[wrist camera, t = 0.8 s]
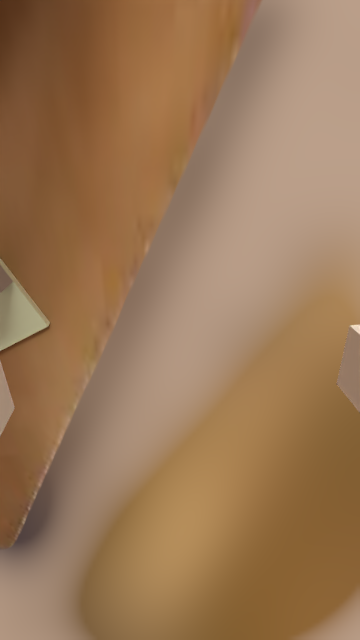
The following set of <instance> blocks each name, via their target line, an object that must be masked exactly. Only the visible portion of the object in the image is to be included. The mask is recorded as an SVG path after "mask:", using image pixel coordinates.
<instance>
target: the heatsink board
mask: <svg viewBox="0 0 360 640" xmlns="http://www.w3.org/2000/svg"><path fill="white" fill-rule="evenodd" d="M49 324H50V322H49V321H48V319H47V318H46V317H45V315H44V314H43V313H42V311H41V310H40V309H39V308H38V306H37V305H36V304H35V302H34V301H33V300H32V298H31V297H30V296H29V295H28V293H27V292H26V291H25V289H24V288H23V287H22V285H21V284H20V283H19V282H18V280H17V279H16V278H15V276H14V275H13V274H12V272H11V271H10V270H9V269H8V267H7V266H6V265H5V263H4V262H3V261H2V259H1V258H0V351H1V350H3V349H5V348H7V347H9V346H11V345H13V344H15V343H17V342H19V341H21V340H23V339H24V338H26V337H28V336H30V335H32V334H34V333H36V332H38V331H40V330H42V329H44V328H46V327H48V326H49Z"/></svg>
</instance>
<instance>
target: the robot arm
mask: <svg viewBox="0 0 360 640" xmlns="http://www.w3.org/2000/svg"><path fill="white" fill-rule="evenodd" d="M337 385H338V386H339V387H340V389H341V390H342V391H343V392H344V394H345V395H346V396H347V397H348V398H349V400H350V401H351V402H352V404H353V405H354V406H355V407H356V409H357V410H358V411H359V412H360V325H351V326H349V331H348V335H347V340H346V344H345V348H344V353H343V358H342V362H341V367H340V371H339V376H338V380H337ZM14 408H15V407H14V404H13V401H12V397H11V394H10V391H9V388H8V384H7V381H6V378H5V374H4V371H3V368H2V365H1V361H0V436H1V434H2V432H3V430H4V428H5V426H6V424H7V422H8V420H9V418H10V416H11V414H12V412H13V410H14Z"/></svg>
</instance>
